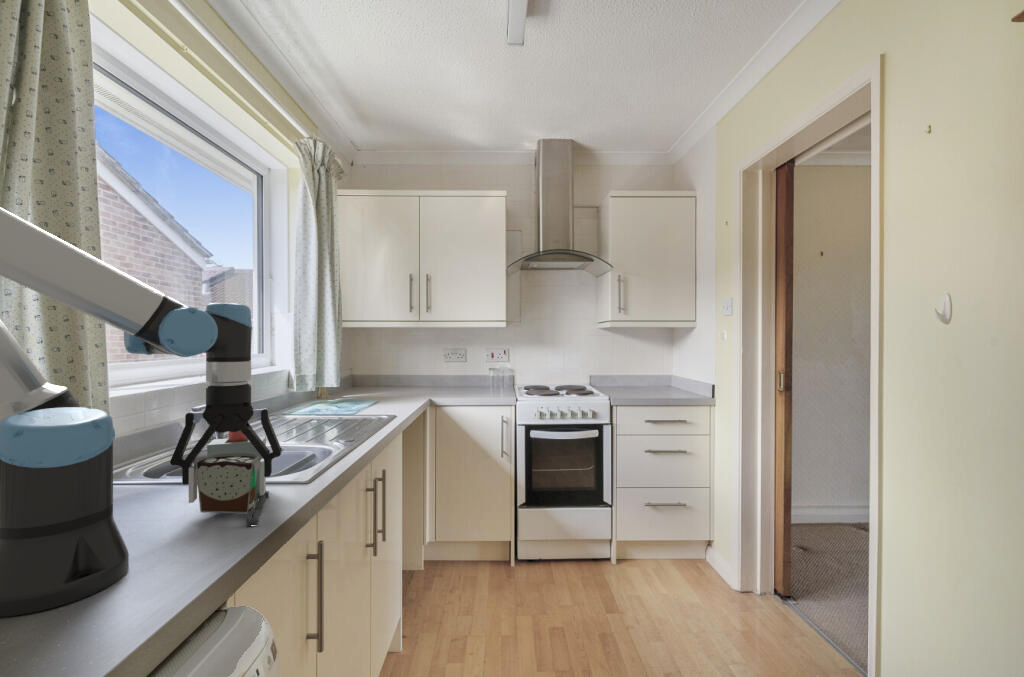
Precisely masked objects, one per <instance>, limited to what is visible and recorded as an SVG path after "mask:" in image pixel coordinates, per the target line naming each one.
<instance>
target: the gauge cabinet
mask: <svg viewBox="0 0 1024 677" xmlns="http://www.w3.org/2000/svg"><path fill="white" fill-rule="evenodd" d="M258 437H259V438H260V439H261V440H262V442H263V443H264V444H265V446H266V447H267V436H266V435H265V436H264V435H260V436H259V435H258ZM229 452H251V453H256V454H257V455H258V457H259V458H260V461H261V459H263V457H262V456H261V455H260V454H259V452H258V451H257V450H256V449H255V447H254V446H253V445H252V443H251V442H250V441H249V440H248V438H247V440H245V441H241V442H229V441H228V438H218V439H212V440H211V441H209V443H207V444H206V456H208V455H213V454H220V453H229ZM258 493H260V469H258V470H257V477H256V487H255V497H254V500H257V499H258Z"/></svg>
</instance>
